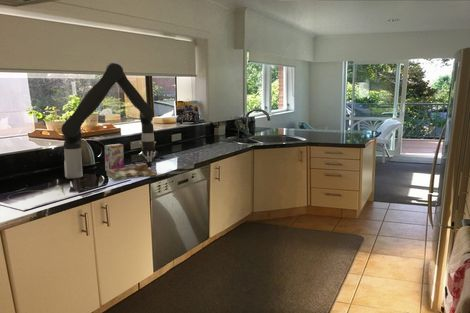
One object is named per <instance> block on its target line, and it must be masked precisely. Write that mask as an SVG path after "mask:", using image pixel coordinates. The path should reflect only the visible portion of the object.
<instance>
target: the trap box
mask: <svg viewBox="0 0 470 313" xmlns="http://www.w3.org/2000/svg"><path fill="white" fill-rule="evenodd" d="M106 169H107V171H106V176H107V177H109V178H110V179H111V178H112V179H111V180H113V181H121V180H128V179H134V178H136V179H137V178H143V177H151V176H157V175H158V174H157V171H156V170H154V169H152V168H148V170H146V171H137V170H135V166H128V167H124V168H119V169H109V168H106Z"/></svg>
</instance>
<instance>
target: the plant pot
mask: <svg viewBox="0 0 470 313" xmlns="http://www.w3.org/2000/svg"><path fill="white" fill-rule="evenodd" d="M156 143H157V141H154V147H155V146H156ZM139 144H140V147H141V149H142V141H140V142H139ZM153 155H154V154H153ZM153 155H152V156H153ZM143 156H144V158H145V155H144V154H143Z"/></svg>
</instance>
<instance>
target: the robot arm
mask: <svg viewBox="0 0 470 313" xmlns="http://www.w3.org/2000/svg"><path fill="white" fill-rule="evenodd" d="M116 83H117V84H118V85H119V87H120V88H121V90H122V91H123V94H125V95H126V97H127V99H128V100H129V101H130V103H131V104H132V105H133V107H134V108H136V109H137V110H138V111H139V119H140V123H141V142H142V148H141V152H140V153H138V156H139V157H140V159H142V160H143V162H145V164H147V165H148V168H150V169H152V165H153V164H152V162H153V161H155V160H156V158H157V157H158V155H159V151H157V150H156V148H155V146H154V142H155V135H154V134H155V133H154V124H153V123H152V119H153V118H154V117H155V111H154V109H153V108H152V107H151V106H150V105H149V104H148V103H147V102H146V100H145V99H144V97H143V96H142V95H141V94H140V92H139V91H138V90H137V89H136V88H135V86H134V85H133V84H132V83H131V82H130V79H128V78H127V75H126V74H125V72H124V69H123V66H122V65H121V64H120V63H119V62H116V61H110V62H109V63H107V65H106V67H105V71H104V73H103V75H102V76H101V77H100V79H99V81H97V82H96V83H95V84H94V85H93V86H92V87H91V88H90V89H89V90H88V91H87V93H86V94H85V95H84V97H83V98H81V101H80V102H79V104H78V106H77V107H76V108H75V111H73V113H72V114H71V116H69V118H67V119H66V121H65V122H64V123H63V124H62V126H61V134H62V135H63V136H64V143H63V151H64V152H63V155H64V161H63V163H64V164H63V165H64V177H65V178H66V179H80V178H82V177H83V176H84V175H83V173H84V172H83V161H82V159H83V158H82V157H83V156H82V125H83V124H84V123H85V121H86V120H87V119H88V118H89V117H90V116H91V115H92V114H93V113H94V112H95V111H96V110H97V109H98V108H99V106H100V105H101V103H102V102H103V101H104V100H105V99H106V97H107V95H108V93H109V92H110V90H111V89H112V88H113V86H114V85H115V84H116ZM143 154H144V155H145V157H144V156H143ZM153 154H154V155H153ZM152 155H153V156H152Z"/></svg>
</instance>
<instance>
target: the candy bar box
mask: <svg viewBox="0 0 470 313" xmlns="http://www.w3.org/2000/svg"><path fill="white" fill-rule="evenodd" d="M124 147H125V146H124V144H122V143H115V144H114V143H113V144H105V145H104V168H105V169H104V170H105V171H106V172H107V169H106V168H109V169H119V168H125V161H124V160H125V157H124V153H125V152H124V151H125V150H124V149H125V148H124Z"/></svg>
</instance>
